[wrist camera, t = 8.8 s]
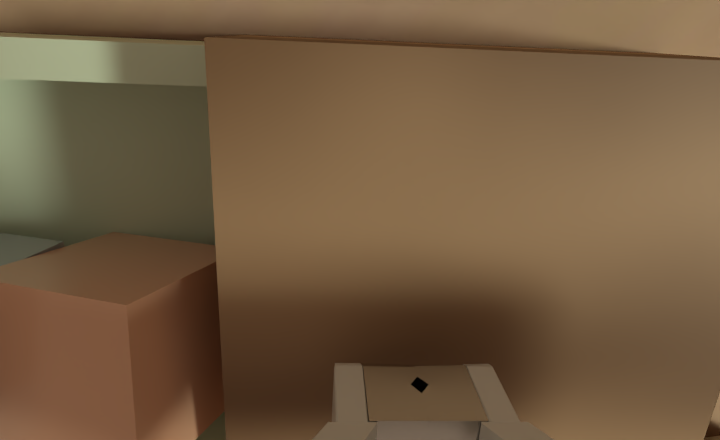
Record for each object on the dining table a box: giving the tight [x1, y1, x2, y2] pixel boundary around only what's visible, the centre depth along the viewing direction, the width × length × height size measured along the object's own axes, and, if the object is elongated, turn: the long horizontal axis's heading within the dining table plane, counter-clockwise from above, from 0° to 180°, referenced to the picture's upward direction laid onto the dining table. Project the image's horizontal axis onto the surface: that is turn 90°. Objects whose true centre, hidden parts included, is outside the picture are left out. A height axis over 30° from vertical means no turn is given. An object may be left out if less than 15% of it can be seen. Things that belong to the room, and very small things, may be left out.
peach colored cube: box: [0, 232, 224, 440], centre depth 12 cm, size 4×4×4 cm
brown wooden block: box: [204, 35, 720, 440], centre depth 13 cm, size 12×11×5 cm
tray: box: [0, 32, 226, 440], centre depth 13 cm, size 12×11×3 cm
